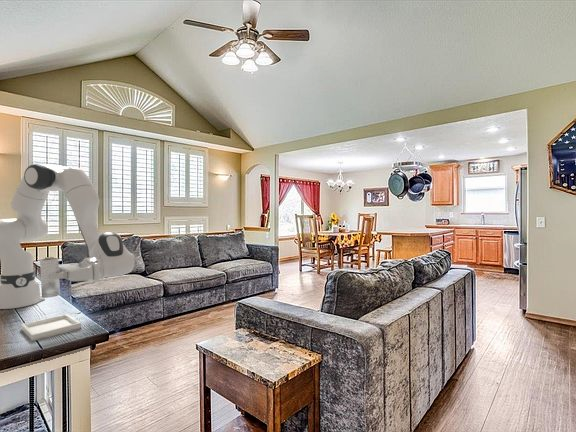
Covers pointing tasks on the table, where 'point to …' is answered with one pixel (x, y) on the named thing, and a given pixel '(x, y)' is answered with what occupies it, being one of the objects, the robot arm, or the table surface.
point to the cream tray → (50, 327)
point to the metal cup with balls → (49, 285)
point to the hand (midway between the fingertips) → (46, 275)
